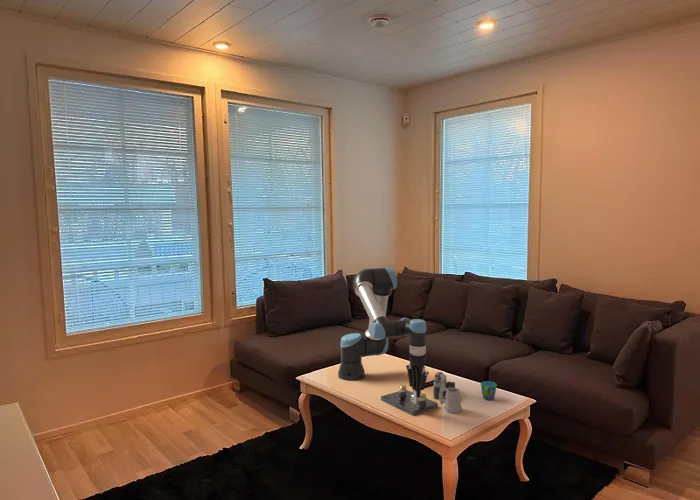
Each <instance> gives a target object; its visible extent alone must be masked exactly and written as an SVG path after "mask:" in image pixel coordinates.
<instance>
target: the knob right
mask: <svg viewBox="0 0 700 500" xmlns="http://www.w3.org/2000/svg"><path fill="white" fill-rule="evenodd" d="M426 398H427V394H426V393H422V392H421V397H420V400H419V409H424V404H426Z"/></svg>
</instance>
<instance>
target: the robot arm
mask: <svg viewBox="0 0 700 500" xmlns="http://www.w3.org/2000/svg"><path fill="white" fill-rule="evenodd" d="M394 270H395V269H393V268H391V267H380V268H379V267H377V268H364V269H362V270H360V271H359V272H358V273H357V274H356V275H355V276H354V279H353V283H352V285H353V286H352V288H353V290H354V292H355V293H354V294H356V296H357V297H359V298H360V301H361V303H362V306H363V308H364V309H365V312H366V313H367V316H368V318H369V321H368V329H366V330H365V332H364V335H361V334H360V333H358V332H357V333H356V332H353V333H352V332H351V333H348V334H345V335H343V336H342V337H341V338H340V365H339V369H338V371H337V376H338V378H339V379H341V380H345V381H356V380H362V379H364V378H365V376H366V371H365V369H364V366H363V363H362V358H363V357H372V356H380V355H385V354H386V352H387V351H388V349H389V338H399V337H408V339H409V341H408V343H409V344H408V347H409V349H408V351H409V354H408V360H409V364H407V365H405V367H406V370H407V377H408V384H409V387H410V388H411V389H412V392H413V396H414V397H413V403H414V404H418V403H419V400H420V397H421V393H422V391H424V390H425V387H426V382H427V377H428V375H429V371H427V370H426V369H425V368H426V366H425V363H426V361H427V360H426V359H427V356H426V355H427V353H426V352H427V322H426V320H424V319H420V318H417V319H416V318H413V319H411V318H408V317H402V318H400V319H399V320H398V319H397V320H389V319H388V318H387V316H386V315H387V308H388V299H389V297H390V296H391V295H392V293H393V290H395V289H396V288H397V287H398V278H397V275H396V272H395V271H394Z"/></svg>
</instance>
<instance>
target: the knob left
mask: <svg viewBox="0 0 700 500" xmlns="http://www.w3.org/2000/svg"><path fill="white" fill-rule="evenodd" d="M406 390H407V385H404V384H402V385H400V386H399V391H400V392H399V399H400V400H404V395H406Z"/></svg>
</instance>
